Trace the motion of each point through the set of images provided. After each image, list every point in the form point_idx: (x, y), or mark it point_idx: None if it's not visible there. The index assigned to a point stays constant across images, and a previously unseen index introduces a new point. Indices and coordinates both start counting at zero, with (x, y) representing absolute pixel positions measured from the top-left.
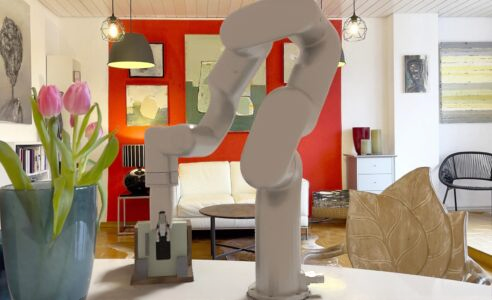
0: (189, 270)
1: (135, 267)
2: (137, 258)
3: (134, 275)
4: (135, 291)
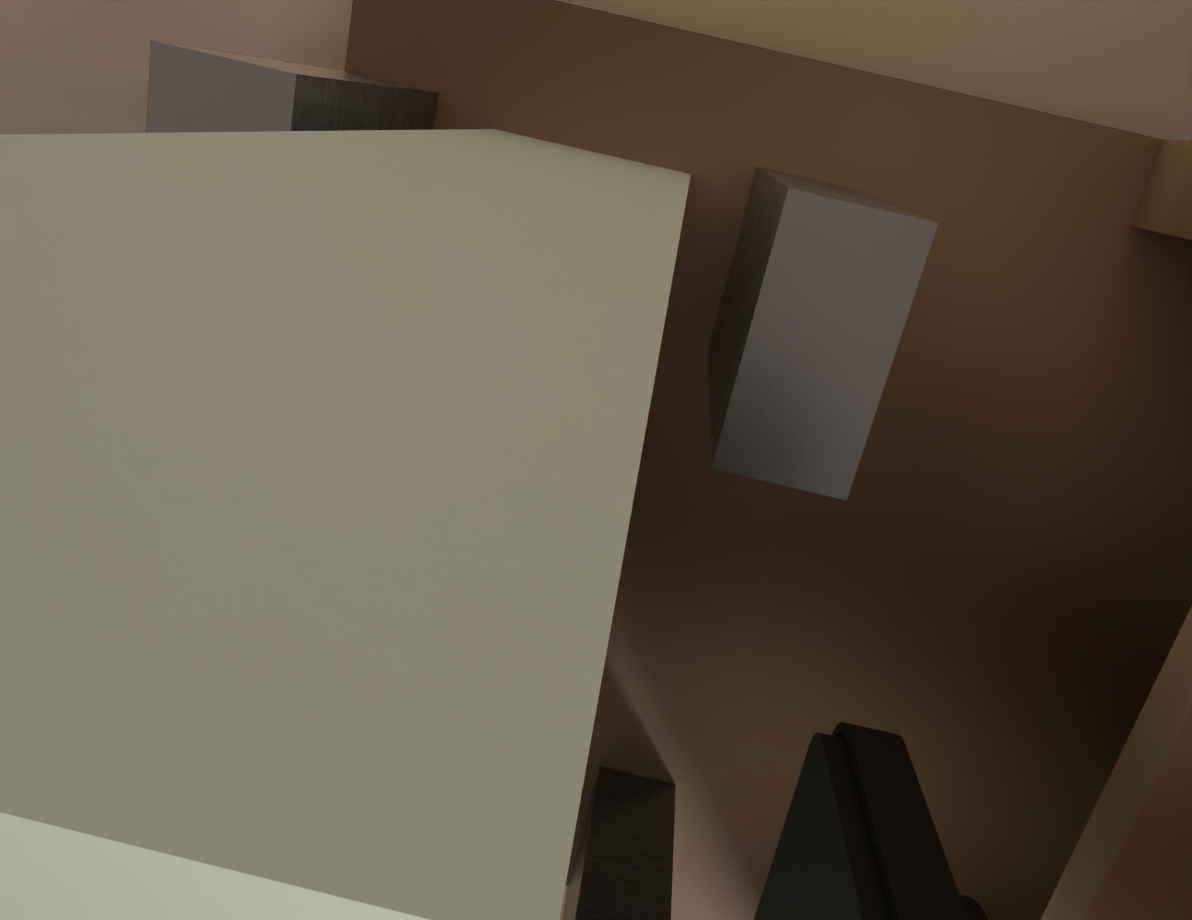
0: (561, 911)
1: (1162, 162)
2: (294, 98)
3: (653, 75)
4: (92, 23)
